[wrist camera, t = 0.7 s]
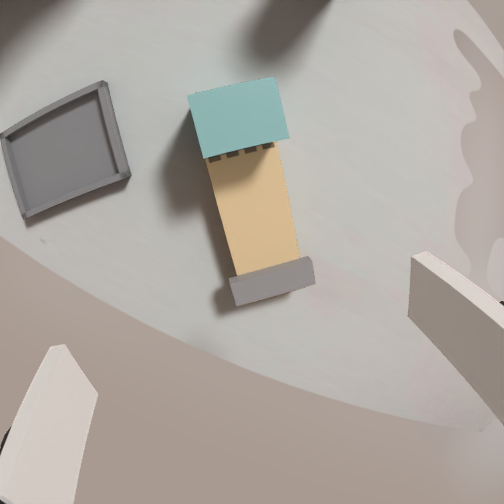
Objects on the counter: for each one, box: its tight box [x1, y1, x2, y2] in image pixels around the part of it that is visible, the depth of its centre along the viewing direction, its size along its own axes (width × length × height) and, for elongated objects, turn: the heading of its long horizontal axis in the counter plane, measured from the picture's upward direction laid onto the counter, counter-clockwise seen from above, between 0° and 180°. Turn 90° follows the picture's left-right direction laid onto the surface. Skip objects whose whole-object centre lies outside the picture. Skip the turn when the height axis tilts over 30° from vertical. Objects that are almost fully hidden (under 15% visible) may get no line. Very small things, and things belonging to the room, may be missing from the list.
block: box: [187, 77, 289, 159], centre depth 22 cm, size 4×6×7 cm
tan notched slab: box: [205, 142, 316, 306], centre depth 28 cm, size 14×8×4 cm, turn 13°
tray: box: [0, 80, 131, 220], centre depth 23 cm, size 9×12×2 cm
